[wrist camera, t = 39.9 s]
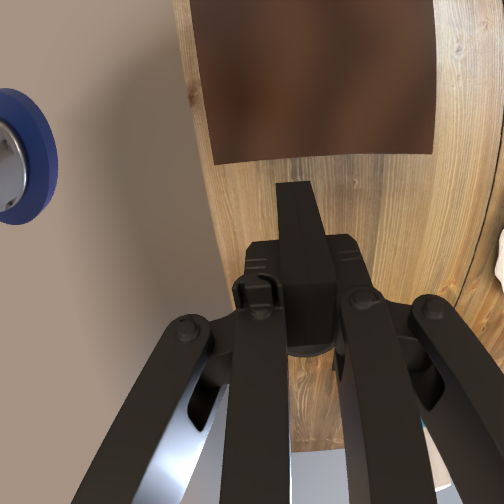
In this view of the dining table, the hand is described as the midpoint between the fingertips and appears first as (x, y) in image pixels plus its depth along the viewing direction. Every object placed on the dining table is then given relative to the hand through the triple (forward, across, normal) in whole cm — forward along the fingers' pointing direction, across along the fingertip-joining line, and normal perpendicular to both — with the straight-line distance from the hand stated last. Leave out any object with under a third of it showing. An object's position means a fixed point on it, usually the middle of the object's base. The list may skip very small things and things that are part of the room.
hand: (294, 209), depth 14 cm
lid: (+11, +4, +6) cm, 13 cm away
